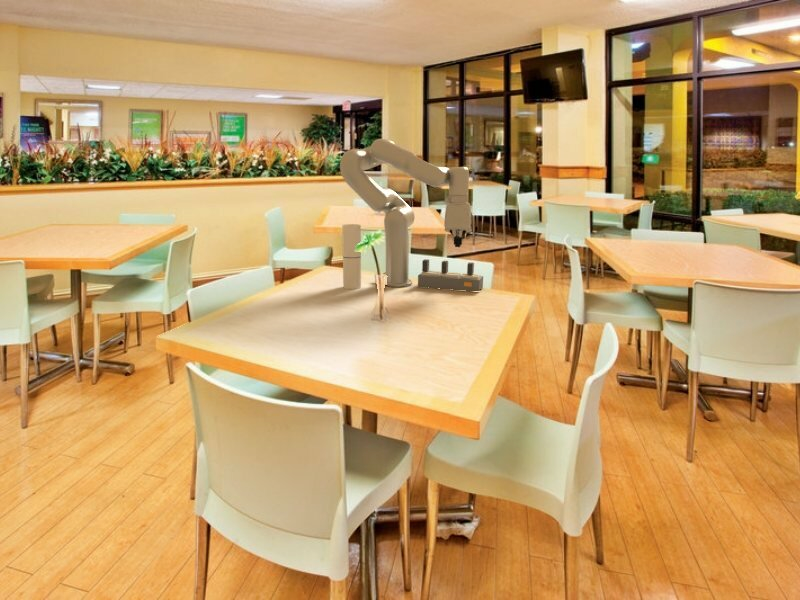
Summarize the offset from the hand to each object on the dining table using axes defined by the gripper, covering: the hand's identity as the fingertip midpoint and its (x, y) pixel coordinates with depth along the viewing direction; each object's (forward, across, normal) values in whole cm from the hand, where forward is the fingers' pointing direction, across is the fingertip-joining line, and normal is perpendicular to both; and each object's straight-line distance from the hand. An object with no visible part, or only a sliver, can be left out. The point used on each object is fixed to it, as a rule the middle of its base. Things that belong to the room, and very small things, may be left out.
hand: (457, 246), depth 216 cm
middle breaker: (+11, -5, 0) cm, 12 cm away
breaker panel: (+17, -3, 0) cm, 17 cm away
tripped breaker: (+11, +5, 0) cm, 12 cm away
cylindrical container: (+16, -40, -13) cm, 45 cm away
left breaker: (+10, -13, 0) cm, 17 cm away
